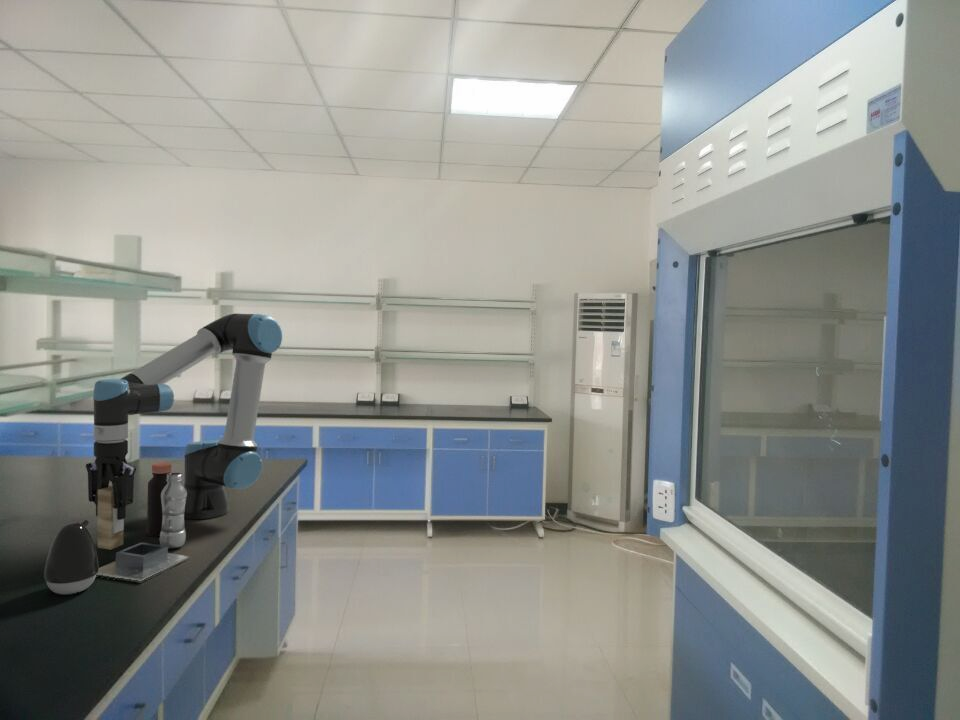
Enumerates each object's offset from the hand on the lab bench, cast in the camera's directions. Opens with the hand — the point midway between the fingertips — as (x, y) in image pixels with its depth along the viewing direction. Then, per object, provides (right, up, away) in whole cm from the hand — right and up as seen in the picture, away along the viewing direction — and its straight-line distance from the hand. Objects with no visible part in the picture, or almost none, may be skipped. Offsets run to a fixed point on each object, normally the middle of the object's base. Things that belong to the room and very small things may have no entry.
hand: (110, 530), depth 159 cm
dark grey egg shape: (+3, -8, -20) cm, 22 cm away
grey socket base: (+11, -8, -6) cm, 15 cm away
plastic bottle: (+12, -7, +8) cm, 16 cm away
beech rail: (0, -4, 0) cm, 4 cm away
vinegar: (+3, -6, +19) cm, 20 cm away
